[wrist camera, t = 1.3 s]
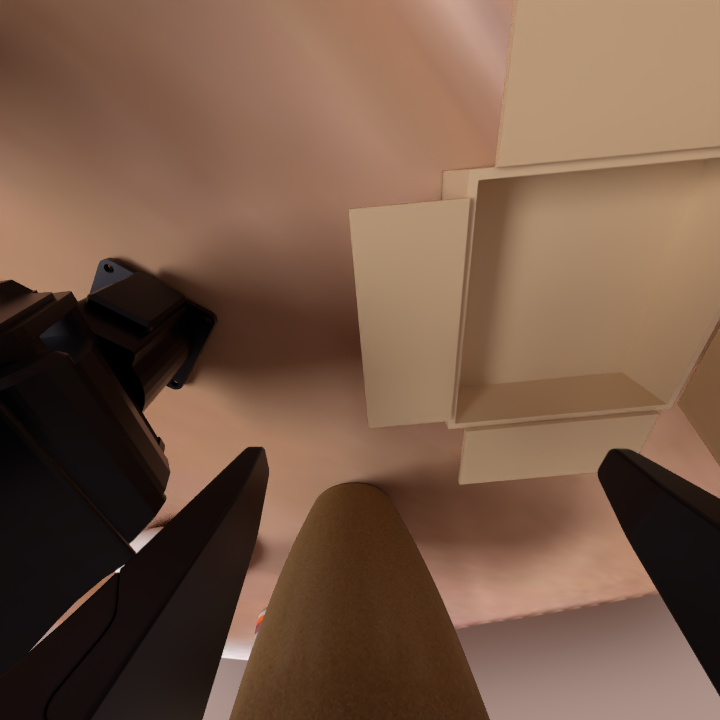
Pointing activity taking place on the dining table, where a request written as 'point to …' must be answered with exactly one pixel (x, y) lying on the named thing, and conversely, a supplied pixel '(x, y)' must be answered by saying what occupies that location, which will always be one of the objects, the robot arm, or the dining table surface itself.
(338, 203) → the dining table surface
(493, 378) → the carton
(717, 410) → the flap
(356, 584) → the plant pot
